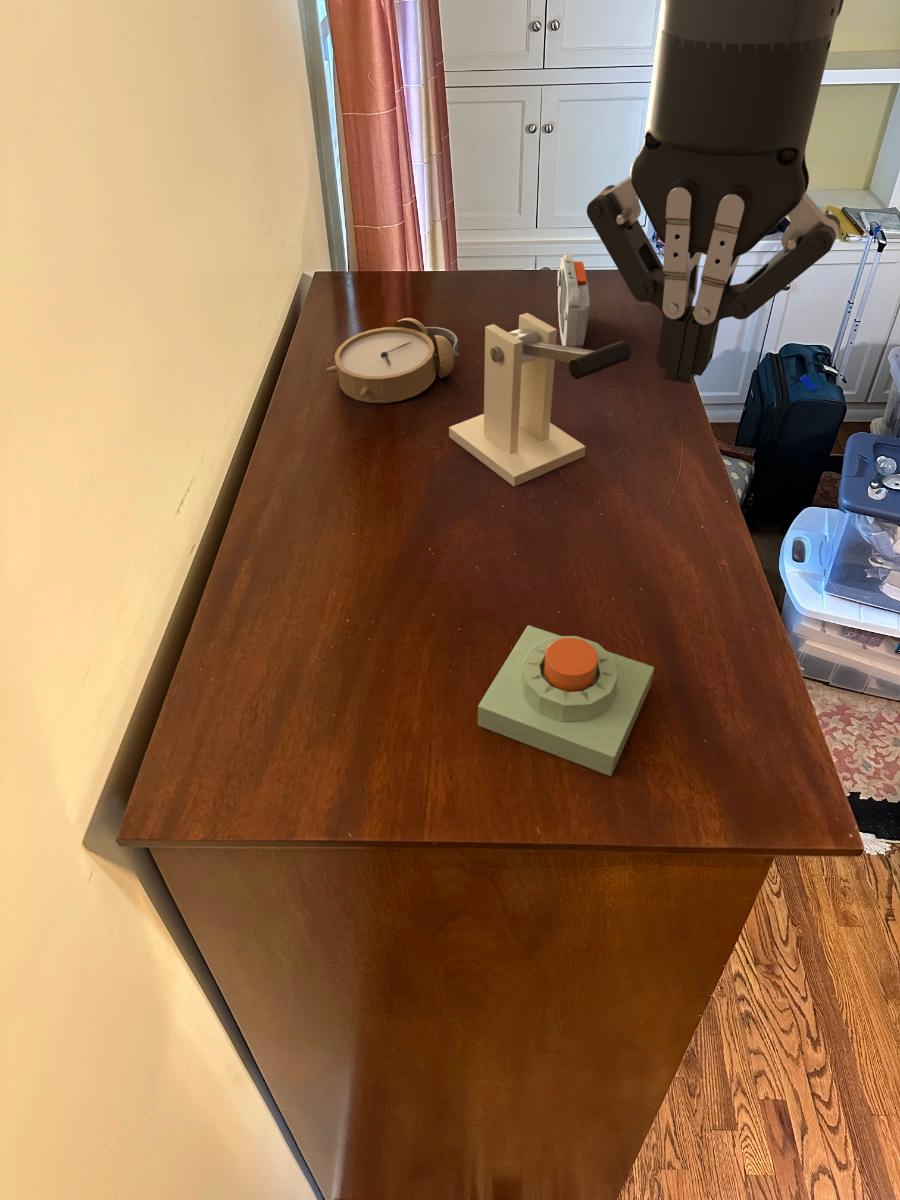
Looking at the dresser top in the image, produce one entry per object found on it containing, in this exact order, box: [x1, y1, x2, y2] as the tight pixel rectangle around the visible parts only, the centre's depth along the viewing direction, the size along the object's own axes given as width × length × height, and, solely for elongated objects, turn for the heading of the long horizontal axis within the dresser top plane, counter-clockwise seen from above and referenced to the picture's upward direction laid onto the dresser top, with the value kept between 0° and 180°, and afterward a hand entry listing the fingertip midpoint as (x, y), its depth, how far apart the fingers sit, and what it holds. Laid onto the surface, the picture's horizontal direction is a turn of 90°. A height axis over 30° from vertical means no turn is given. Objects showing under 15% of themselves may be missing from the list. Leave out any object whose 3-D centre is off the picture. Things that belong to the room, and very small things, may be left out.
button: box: [544, 638, 598, 692], centre depth 60 cm, size 4×4×2 cm
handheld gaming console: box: [557, 254, 591, 349], centre depth 104 cm, size 14×3×8 cm, turn 178°
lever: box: [508, 328, 632, 380], centre depth 76 cm, size 13×6×2 cm, turn 35°
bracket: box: [448, 312, 586, 487], centre depth 84 cm, size 11×9×13 cm
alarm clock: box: [326, 317, 460, 404], centre depth 98 cm, size 11×5×15 cm
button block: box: [477, 624, 655, 777], centre depth 61 cm, size 10×9×4 cm
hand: (681, 375), depth 50 cm, fingers closed
